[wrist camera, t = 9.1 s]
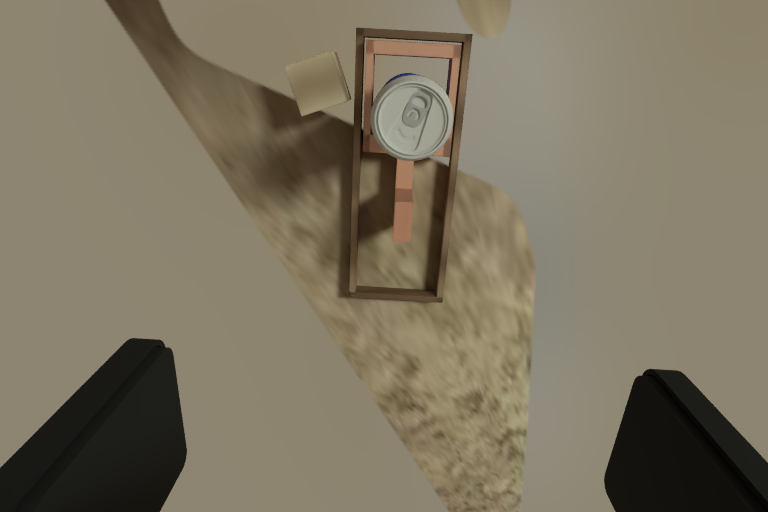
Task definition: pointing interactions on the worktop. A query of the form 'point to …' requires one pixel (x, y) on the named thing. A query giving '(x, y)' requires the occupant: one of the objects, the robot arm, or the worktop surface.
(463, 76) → the lane frame
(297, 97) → the beech cube
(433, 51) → the sled
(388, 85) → the beverage can
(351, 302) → the worktop surface
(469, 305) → the worktop surface
